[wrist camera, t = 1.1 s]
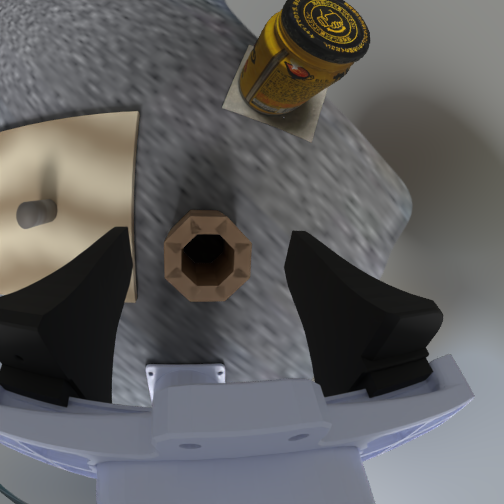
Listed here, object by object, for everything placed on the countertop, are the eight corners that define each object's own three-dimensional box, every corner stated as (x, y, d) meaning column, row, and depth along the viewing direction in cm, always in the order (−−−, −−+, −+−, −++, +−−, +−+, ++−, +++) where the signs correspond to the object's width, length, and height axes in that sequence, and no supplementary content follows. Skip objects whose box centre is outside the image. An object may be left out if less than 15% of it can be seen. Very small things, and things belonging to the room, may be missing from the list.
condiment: (248, 45, 20) (291, -35, 9) (329, 80, 22) (409, 32, 11) (221, 108, 21) (251, 40, 10) (310, 143, 23) (397, 117, 12)
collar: (234, 274, 25) (248, 300, 19) (171, 275, 23) (165, 301, 18) (237, 210, 23) (253, 217, 18) (170, 209, 22) (164, 216, 16)
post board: (137, 298, 23) (126, 323, 18) (4, 290, 20) (-22, 308, 15) (139, 114, 20) (127, 95, 15) (-1, 134, 16) (-29, 128, 11)
